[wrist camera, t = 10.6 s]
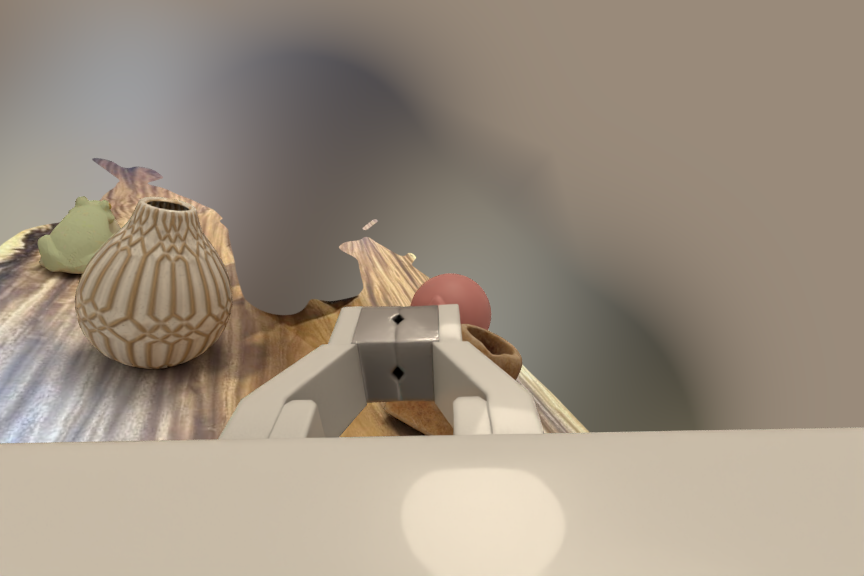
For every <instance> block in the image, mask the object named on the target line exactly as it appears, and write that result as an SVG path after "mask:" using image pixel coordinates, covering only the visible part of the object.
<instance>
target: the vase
mask: <svg viewBox="0 0 864 576" xmlns="http://www.w3.org/2000/svg"><path fill="white" fill-rule="evenodd" d="M75 310H76V315H77V319H78V323H79V326H80V328H81V330H82V331H83V333H84V335H85V337H86V338H87V339H88V341H89V342H90V343H91V344H92V345H93V346H94V347H95V348H96V349H97V350H98V351H99V352H100V353H102V354H103V355H105V356H107V357H109V358H110V359H112V360H114V361H117V362H119V363H122V364H125V365H129V366H132V367H137V368H145V369H159V368H167V367H172V366H176V365H179V364H182V363H184V362H187V361H189V360H191V359H194V358H196V357H197V356H199V355H200V354H202V353H204V352H205V351H206V350H208V349H209V348H210V347H211V346H212V345H213V344H214V343H215V342H216V341H217V339H218V338H219V337H220V335H221V334H222V332H223V331H224V329H225V327H226V325H227V323H228V320H229V317H230V314H231V310H232V290H231V285H230V280H229V276H228V273H227V271H226V268H225V266H224V264H223V262H222V260H221V258H220V257H219V255H218V253H217V252H216V250H215V248H214V247H213V246H212V244H211V243H210V241H209V240H208V239H207V237H206V236H205V234H204V233H203V231H202V228H201V225H200V222H199V218H198V214H197V211H196V208H195V207H194V206H192V205H191V204H188V203H186V202H183V201H180V200H175V199H170V198H163V197H146V198H142V199H140V200H139V202H138V204H137V206H136V208H135V210H134V212H133V214H132V216H131V218H130V219H129V221H128V222H127V223H126V224H125V225H124V226H123V227H122V228H121V229H120V230H118V231H117V232H116V233H115V234H114V235H112V236H111V237H110V238H109V239H108V240H107V241H106V242H105V243H104V244H103V245H102V246H101V247H100V248H99V249H98V250H97V251H96V253H95V254H94V255H93V256H92V258H91V259H90V261H89V262H88V264H87V266H86V268H85V270H84V272H83V274H82V276H81V278H80V281H79V284H78V287H77V290H76V295H75Z"/></svg>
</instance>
